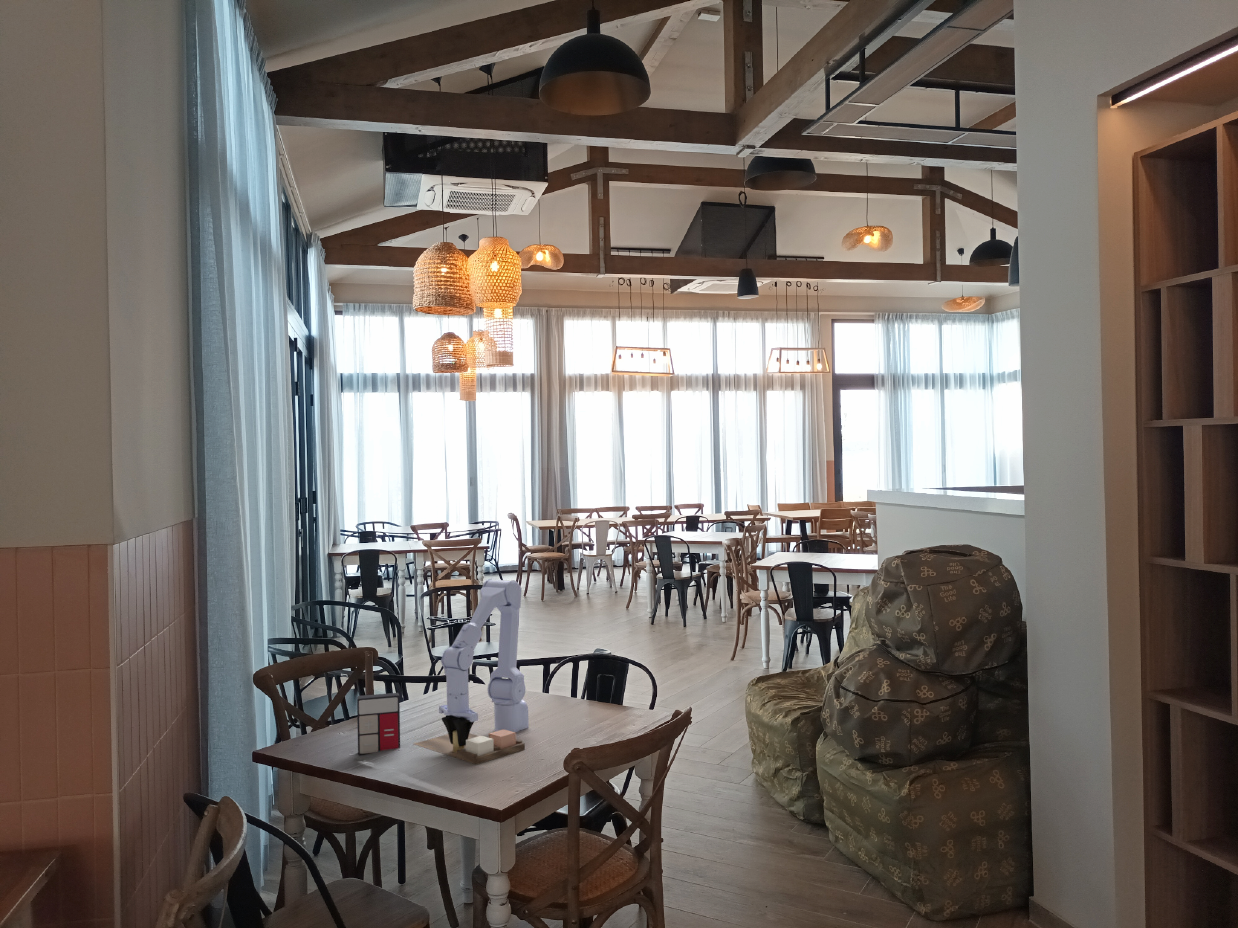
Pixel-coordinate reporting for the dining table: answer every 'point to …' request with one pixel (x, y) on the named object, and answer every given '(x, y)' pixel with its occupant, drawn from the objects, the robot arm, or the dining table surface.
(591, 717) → the dining table surface
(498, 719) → the robot arm
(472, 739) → the tethered block
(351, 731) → the dining table surface
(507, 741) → the untied block
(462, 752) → the shelf
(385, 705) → the calculator
